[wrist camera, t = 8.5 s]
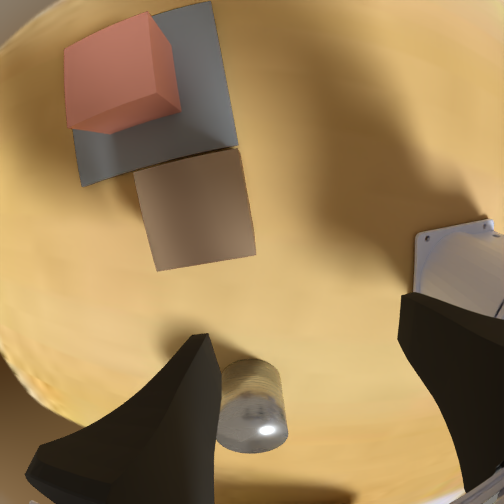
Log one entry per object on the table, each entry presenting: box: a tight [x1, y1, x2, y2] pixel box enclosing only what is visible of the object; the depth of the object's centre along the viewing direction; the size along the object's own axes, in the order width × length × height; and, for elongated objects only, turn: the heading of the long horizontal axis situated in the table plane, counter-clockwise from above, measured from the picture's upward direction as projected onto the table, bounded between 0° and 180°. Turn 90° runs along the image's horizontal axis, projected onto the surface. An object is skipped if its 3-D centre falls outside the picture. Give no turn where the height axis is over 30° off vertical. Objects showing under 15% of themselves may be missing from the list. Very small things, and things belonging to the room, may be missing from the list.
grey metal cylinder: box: [216, 359, 288, 453], centre depth 19 cm, size 5×5×6 cm
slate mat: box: [73, 1, 238, 187], centre depth 15 cm, size 11×11×1 cm
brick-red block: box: [64, 11, 182, 134], centre depth 12 cm, size 5×5×5 cm
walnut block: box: [133, 148, 256, 272], centre depth 15 cm, size 5×5×5 cm
